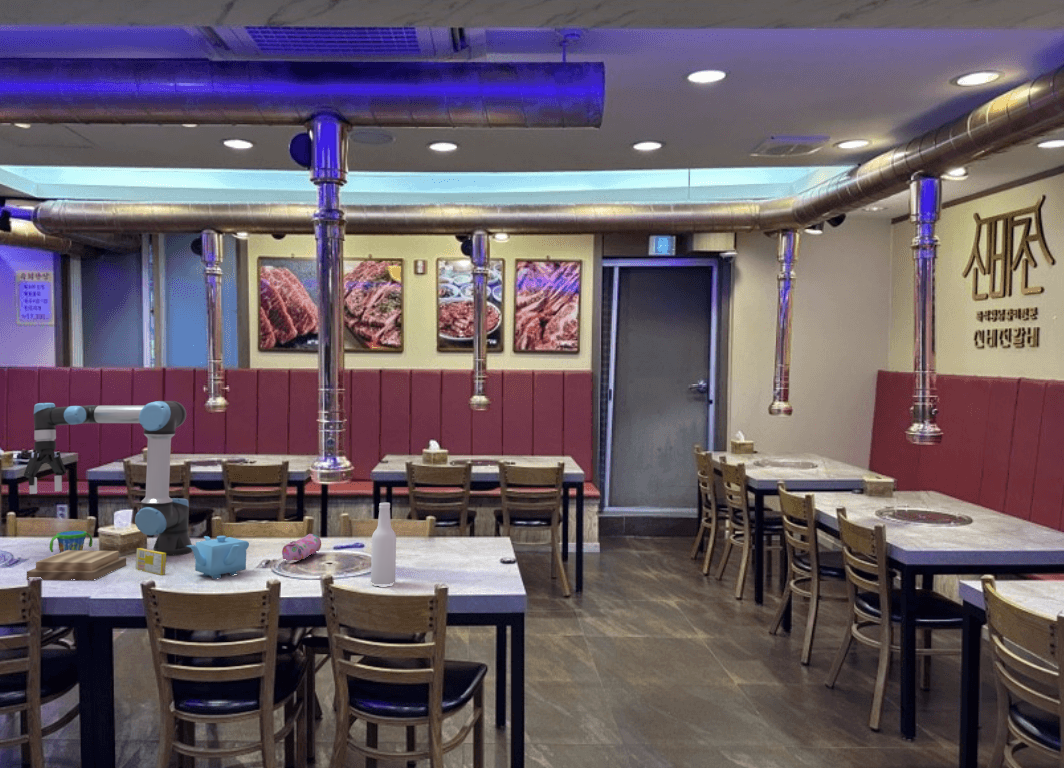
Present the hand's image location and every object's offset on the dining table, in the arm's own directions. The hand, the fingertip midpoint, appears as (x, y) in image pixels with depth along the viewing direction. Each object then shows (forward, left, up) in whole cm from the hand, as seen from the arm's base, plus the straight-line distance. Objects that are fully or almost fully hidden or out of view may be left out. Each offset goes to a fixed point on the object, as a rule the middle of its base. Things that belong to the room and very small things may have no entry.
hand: (46, 492), depth 317 cm
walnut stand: (-27, +24, -26) cm, 45 cm away
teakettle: (-80, +26, -27) cm, 88 cm away
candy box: (-53, +22, -27) cm, 63 cm away
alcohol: (-144, +37, -27) cm, 151 cm away
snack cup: (-11, 0, -27) cm, 29 cm away
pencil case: (-104, -3, -27) cm, 107 cm away
